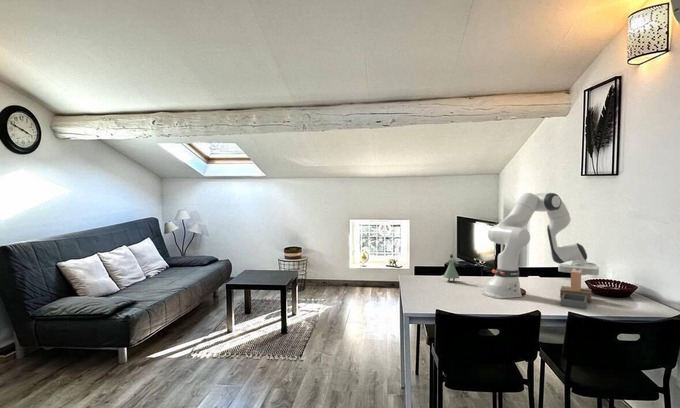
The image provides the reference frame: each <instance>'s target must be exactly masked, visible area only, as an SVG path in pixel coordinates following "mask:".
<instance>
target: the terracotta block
mask: <svg viewBox="0 0 680 408" xmlns="http://www.w3.org/2000/svg"><path fill="white" fill-rule="evenodd" d="M570 287H571V290H574V291H581V288H582V275H581V271H576V270H572V271H571V273H570Z"/></svg>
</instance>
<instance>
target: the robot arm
mask: <svg viewBox="0 0 680 408" xmlns="http://www.w3.org/2000/svg"><path fill="white" fill-rule="evenodd" d="M535 212H542V213H543V212H544V213H545V212H546V213H547V216H548V219H549V224H547V226H546V228H547V229H546V231H547V237H548V241H549V245H550V254H551V255H550V256H551V259H552V260H553V262H555V263H557V264H559V265H558V266H557V268H558V269H557V270H558V272H561V273H569V274H571V271H572V270H576V271H581V276H589V275H591V276H599V272H600V269H599V267H598V266H597V264H596V263H593V262H588V261H587V260H588V259H587V258H588V255H587V251H586V248H584V246H583V245H582V244H580V243H577V242H576V243H570V244H568V245H563V246H558V242H557V237H556V236H557V235H558V234H559V233H560V232H561V231H563V230H565V229H566V228H567V227H568V226H569V224H570V223H571V220H572V219H571V215H570V211H569V210H568V207H567V206H566V204H565V203H564V202H563V200H562V198H561V197H560V196H559V195H558V194H557V193H554V192H548V193H546V192H541V193H535V194H533V193H531V192H526V193H523V194H522V195H521V196H520V197H519V199H518V200H517V201H516V202H515V204H514V206H513V207H512V209H511V210H510V212H509V213H508V214H507V216H505V218H504V219H502V220H501V221H500V222H498V223H497V224H495V225H492V226H491V227H489V229H488V232H487V237H488V239H489V241H490V242H493V243H495V244H497V245H504V249H503V251H501V252H500V253H498V255H497V268H496V269H494V268H493V269H492V270H491V272H492V273H493V274H494V276H492V277H491V279H490V280H488V282H486V284H485V290H481V294H482V295H484V296H488V297H490V298H494V299H511V298H512V299H513V298H522V297H523V295H522V293H521V284H520V283H521V282H520V280H519V279H520V278H519V276H520V269H519V263H520V262H519V258H520V254H521V252H522V250H523V249H524V247H526V246H527V245H528V244H529V242H530V240H531V234H530V232H529V231H528V230H527V229H526V228H523V227H525V226H527V225H528V223H529V222H530V220H531V218H532V217H533V215H534V213H535ZM566 262H571V263H570V264H568V263H566ZM565 263H566V264H565Z"/></svg>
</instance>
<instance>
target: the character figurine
mask: <svg viewBox="0 0 680 408" xmlns="http://www.w3.org/2000/svg"><path fill="white" fill-rule="evenodd" d="M449 257H450V258H448V259H447V260H446V261H445V262H444V263H442V264H441V266H443V265H444V264H448V266H447V268H446V271H445V272H444V274H443V278H444V279H447V282H448V281H450V282H451V280H452V282H453V281H456V280H457V279H460V275H459V273H458V272H457V270H456V266H455V264H457V265H460V267H461V268H464V265H462V264H461V263H459V261H456V259H455V258H454V255H453V254H450V255H449ZM455 279H456V280H455Z"/></svg>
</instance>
